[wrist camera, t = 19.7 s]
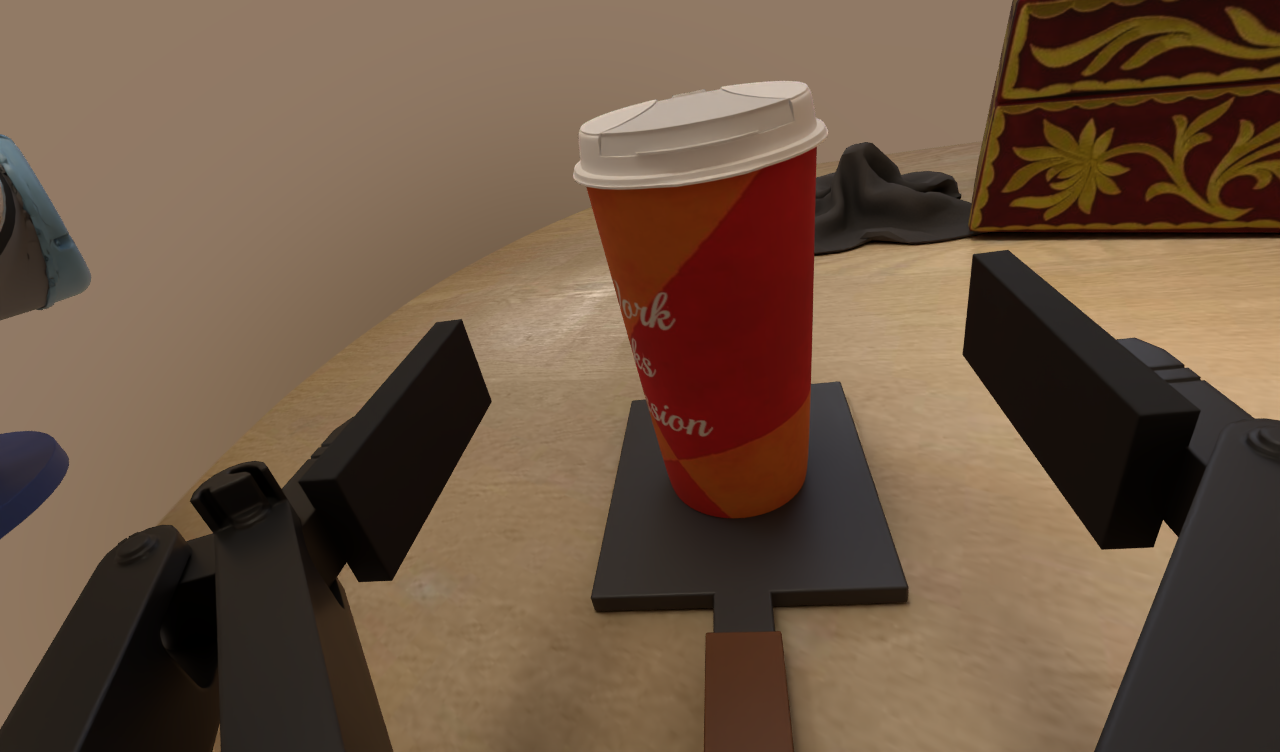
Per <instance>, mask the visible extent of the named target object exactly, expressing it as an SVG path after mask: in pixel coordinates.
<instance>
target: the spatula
mask: <svg viewBox="0 0 1280 752" xmlns="http://www.w3.org/2000/svg"><path fill="white" fill-rule="evenodd" d="M591 599H592V603H593V606H594V609H595V610H596V611H618V610H653V609H689V608H714V633H706V648H705V715H704V752H794V747H793V737H792V728H791V718H790V709H789V699H788V690H787V680H786V671H785V661H784V652H783V642H782V633H781V632H780V631H775V625H774V615H773V606H795V605H830V604H866V603H901V602H907V600H908V585H907V582H906V579H905V576H904V573H903V569H902V566H901V563H900V560H899V557H898V554H897V551H896V548H895V545H894V542H893V539H892V536H891V533H890V530H889V527H888V524H887V521H886V518H885V515H884V512H883V509H882V506H881V503H880V500H879V497H878V494H877V491H876V488H875V485H874V482H873V479H872V476H871V473H870V470H869V467H868V464H867V461H866V458H865V455H864V452H863V449H862V446H861V443H860V440H859V437H858V434H857V431H856V427H855V424H854V421H853V418H852V415H851V412H850V409H849V406H848V403H847V400H846V397H845V394H844V391H843V388H842V385H841V383H840V382H829V383H818V384H811V395H810V426H809V448H808V463H807V472H806V477H805V481H804V483H803V485H802V487H801V489H800V490H799V492H798V493H797V494H796V495H795V496H794V497H793V498H792V499H791V500H790V501H788V502H787V503H786V504H784V505H782V506H781V507H779V508H777V509H775V510H773V511H770V512H768V513H765V514H761V515H757V516H753V517H746V518H721V517H715V516H711V515H707V514H704V513H701V512H699V511H697V510H695V509H693V508H691V507H689V506H688V505H687V504H685V503H684V502H683V501H682V500H681V499H680V498H679V497H678V495H677V494H676V492H675V491H674V489H673V486H672V484H671V481H670V479H669V476H668V473H667V470H666V466H665V463H664V460H663V457H662V453H661V450H660V447H659V443H658V440H657V436H656V433H655V429H654V426H653V422H652V419H651V415H650V412H649V409H648V405H647V401H646V400H635V401H632V404H631V408H630V413H629V418H628V423H627V428H626V432H625V437H624V442H623V447H622V451H621V456H620V461H619V466H618V471H617V475H616V480H615V485H614V490H613V495H612V499H611V504H610V509H609V514H608V518H607V523H606V528H605V533H604V538H603V542H602V547H601V552H600V557H599V562H598V566H597V571H596V576H595V581H594V585H593V590H592V595H591Z"/></svg>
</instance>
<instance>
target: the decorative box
mask: <svg viewBox="0 0 1280 752" xmlns="http://www.w3.org/2000/svg"><path fill="white" fill-rule="evenodd" d="M968 225H969V230H970V231H979V232H1280V0H1013V2H1012V6H1011V11H1010V16H1009V20H1008V25H1007V30H1006V34H1005V39H1004V44H1003V49H1002V53H1001V58H1000V64H999V69H998V72H997V77H996V81H995V86H994V90H993V95H992V100H991V104H990V109H989V114H988V119H987V123H986V128H985V133H984V137H983V142H982V146H981V151H980V156H979V161H978V166H977V172H976V178H975V185H974V191H973V197H972V204H971V210H970V216H969V224H968Z"/></svg>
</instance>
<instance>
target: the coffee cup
mask: <svg viewBox="0 0 1280 752" xmlns="http://www.w3.org/2000/svg"><path fill="white" fill-rule="evenodd" d="M827 136H828V130H827V128H826V126H825V124H824V122H823V121H822V120H820V119H818V118H816V115H815V109H814V103H813V98H812V93H811V90H810V89H809V88H808V86H807V84H805V83H802V82H796V81H770V82H757V83H747V84H738V85H731V86H724V87H721V89H719V90H714V91H708V92H705V90H700V91H694V92H689V93H684V94H678V95H674V96H672V99H667V100H662V101H658V102H657V99H656V100H652V101H647V102H644V103H640V104H636V105H632V106H629V107H625V108H622V109H619V110H616V111H612V112H609V113H606V114H604V115H601V116H598V117H596V118H594V119H592V120H589V121H588V122H586V123H584V124H583V125H582V126H581V128H580V131H579V136H578V139H579V151H580V161H579V162H578V163H577V164H576V165H575V168H574V173H573V178H574V180H575V181H576V182H577V183H579V184H580V185H583V186H586V187H587V191H588V194H589V198H590V201H591V205H592V209H593V212H594V216H595V219H596V223H597V226H598V230H599V234H600V237H601V241H602V244H603V248H604V251H605V255H606V259H607V262H608V266H609V269H610V273H611V277H612V280H613V284H614V287H615V291H616V295H617V298H618V302H619V305H620V309H621V312H622V316H623V320H624V323H625V327H626V330H627V334H628V338H629V341H630V345H631V348H632V352H633V355H634V359H635V363H636V366H637V370H638V373H639V377H640V380H641V384H642V387H643V391H644V394H645V398H646V401H647V405H648V409H649V412H650V415H651V419H652V422H653V426H654V429H655V433H656V436H657V440H658V443H659V447H660V450H661V453H662V457H663V460H664V463H665V466H666V470H667V473H668V476H669V479H670V481H671V484H672V486H673V489H674V491H675V492H676V494H677V495H678V497H679V498H680V499H681V500H682V501H683V502H684V503H685V504H687V505H688V506H689V507H691V508H693V509H695V510H697V511H699V512H701V513H704V514H707V515H711V516H715V517H721V518H746V517H753V516H757V515H761V514H765V513H768V512H770V511H773V510H775V509H777V508H779V507H781V506H782V505H784V504H786V503H787V502H788V501H790V500H791V499H792V498H793V497H794V496H795V495H796V494H797V493H798V492H799V490H800V489H801V487H802V485H803V483H804V481H805V477H806V472H807V463H808V448H809V426H810V395H811V360H812V322H813V279H814V236H815V195H816V154H817V146H818V145H819V144H821V143H822V142H823V141H824V140H825V139H826V138H827Z"/></svg>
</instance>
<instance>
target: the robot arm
mask: <svg viewBox="0 0 1280 752" xmlns="http://www.w3.org/2000/svg"><path fill="white" fill-rule="evenodd" d="M90 282H91V274H90V271H89V269H88V267H87V265H86V263H85V261H84V259H83V257H82V255H81V253H80V252H79V250H78V248H77V246H76V245H75V243H74V241H73V240H72V238H71V236H70V235H69V233H68V231H67V229H66V227H65V226H64V224H63V221H62V219H61V218H60V216H59V214H58V212H57V211H56V209H55V207H54V206H53V204H52V202H51V201H50V199H49V197H48V195H47V194H46V192H45V190H44V189H43V187H42V185H41V184H40V182H39V180H38V178H37V177H36V175H35V173H34V172H33V170H32V169H31V167H30V165H29V164H28V162H27V160H26V159H25V158H24V156H23V154H22V152H21V151H20V149H19V148H18V147H17V146H16V145H15V143H14V142H13V141H12V140H11V139H10V138H8V137H7V136H5V135H1V134H0V320H3V319H6V318H9V317H13V316H15V315H19V314H22V313H25V312H29V311H32V310H35V309H36V310H43V309H47V308H49V307H51V306H52V305H54V303H55V302H58V301H61V300H64V299H66V298H69V297H72V296H75V295H78V294H80V293H82V292H83V291H84V290H86V289H87V288H88V286H89V284H90ZM963 356H964V357H965V359H966V360H967V361H968V363H969V364H970V366H971V367H972V368H973V370H974V371H975V373H976V374H977V375H978V377H979V378H980V380H981V381H982V382H983V384H984V385H985V387H986V388H987V390H988V391H989V392H990V394H991V395H992V397H993V398H994V399H995V401H996V402H997V404H998V405H999V406H1000V408H1001V409H1002V411H1003V412H1004V413H1005V415H1006V416H1007V418H1008V419H1009V420H1010V422H1011V423H1012V425H1013V426H1014V427H1015V429H1016V430H1017V432H1018V433H1019V434H1020V436H1021V437H1022V439H1023V440H1024V441H1025V443H1026V444H1027V446H1028V447H1029V448H1030V450H1031V451H1032V453H1033V454H1034V455H1035V457H1036V458H1037V460H1038V461H1039V462H1040V464H1041V465H1042V467H1043V468H1044V469H1045V471H1046V472H1047V474H1048V475H1049V476H1050V478H1051V479H1052V481H1053V482H1054V483H1055V485H1056V486H1057V488H1058V489H1059V490H1060V492H1061V493H1062V495H1063V496H1064V497H1065V499H1066V500H1067V502H1068V503H1069V504H1070V506H1071V507H1072V509H1073V510H1074V511H1075V513H1076V514H1077V516H1078V517H1079V518H1080V520H1081V521H1082V523H1083V524H1084V525H1085V527H1086V528H1087V530H1088V531H1089V533H1090V534H1091V535H1092V537H1093V538H1094V540H1095V541H1096V542H1097V544H1098V545H1099V547H1100V548H1101V549H1102V550H1103V549H1126V548H1148V547H1154V544H1155V541H1156V538H1157V536H1158V533H1159V530H1160V527H1161V524H1162V521H1163V520H1164V521H1165V522H1166V524H1167V525H1168V526H1169V527H1170V528H1171V529H1172V530H1173V532H1174V533H1175V534H1176V535H1177V536H1178V537H1179V538H1178V540H1177V543H1176V545H1175V548H1174V550H1173V553H1172V555H1171V558H1170V560H1169V563H1168V566H1167V568H1166V571H1165V573H1164V576H1163V578H1162V581H1161V583H1160V586H1159V588H1158V591H1157V593H1156V596H1155V599H1154V601H1153V604H1152V606H1151V609H1150V611H1149V614H1148V616H1147V619H1146V621H1145V624H1144V626H1143V629H1142V632H1141V634H1140V637H1139V639H1138V642H1137V644H1136V647H1135V649H1134V652H1133V654H1132V657H1131V659H1130V662H1129V665H1128V667H1127V670H1126V672H1125V675H1124V677H1123V680H1122V682H1121V685H1120V687H1119V690H1118V693H1117V695H1116V698H1115V700H1114V703H1113V705H1112V708H1111V710H1110V713H1109V715H1108V718H1107V720H1106V723H1105V726H1104V728H1103V731H1102V733H1101V736H1100V738H1099V741H1098V743H1097V746H1096V748H1095V751H1094V752H1280V421H1279V420H1272V419H1255V418H1253V417H1252V416H1251V415H1249V414H1248V413H1247V412H1245V411H1244V410H1243V409H1241V408H1240V407H1239V406H1238V405H1236V404H1235V403H1234V402H1232V401H1231V400H1230V399H1228V398H1227V397H1226V396H1224V395H1223V394H1222V393H1221V392H1219V391H1218V390H1217V389H1215V388H1214V387H1213V386H1211V385H1210V384H1209V383H1207V382H1206V381H1205V380H1203V381H1201V379H1200V376H1198V375H1197V374H1196V373H1194V372H1193V371H1192V370H1190V369H1189V368H1184V364H1183V363H1181V362H1180V361H1179V360H1177V359H1176V358H1175V357H1173V356H1172V355H1171V354H1170V353H1168V352H1167V351H1166V350H1164V349H1162V348H1159V347H1157V346H1154V345H1152V344H1149V343H1147V342H1144V341H1142V340H1140V339H1137V338H1127V339H1117V340H1116V339H1114V338H1113V337H1112V336H1111V335H1110V334H1108V333H1107V332H1106V331H1105V330H1104V329H1102V328H1101V327H1100V326H1099V325H1098V324H1096V323H1095V322H1094V321H1093V320H1092V319H1090V318H1089V317H1088V316H1087V315H1086V314H1084V313H1083V312H1082V311H1081V310H1080V309H1078V308H1077V307H1076V306H1075V305H1074V304H1072V303H1071V302H1070V301H1069V300H1068V299H1066V298H1065V297H1064V296H1063V295H1062V294H1060V293H1059V292H1058V291H1057V290H1056V289H1054V288H1053V287H1052V286H1051V285H1050V284H1048V283H1047V282H1046V281H1045V280H1044V279H1042V278H1041V277H1040V276H1039V275H1038V274H1036V273H1035V272H1034V271H1033V270H1032V269H1030V268H1029V267H1028V266H1027V265H1025V264H1024V263H1023V262H1022V261H1021V260H1019V259H1018V258H1017V257H1016V256H1015V255H1013V254H1012V253H1011V252H1010V251H1009V250H1004V251H996V252H988V253H980V254H973V258H972V268H971V278H970V288H969V298H968V308H967V318H966V327H965V337H964V347H963ZM491 402H492V401H491V398H490V395H489V393H488V390H487V387H486V384H485V382H484V379H483V376H482V373H481V371H480V368H479V365H478V362H477V360H476V357H475V354H474V351H473V349H472V346H471V343H470V341H469V338H468V335H467V332H466V330H465V327H464V324H463V321H462V319H459V320H451V321H444V322H436V323H435V325H434V326H433V327H432V328H431V329H430V330H429V331H428V333H427V334H426V335H425V336H424V337H423V338H422V339H421V341H420V342H419V343H418V344H417V345H416V346H415V348H414V349H413V350H412V351H411V352H410V353H409V354H408V356H407V357H406V358H405V359H404V360H403V361H402V362H401V364H400V365H399V366H398V367H397V368H396V369H395V370H394V372H393V373H392V374H391V375H390V376H389V377H388V379H387V380H386V381H385V382H384V383H383V384H382V385H381V387H380V388H379V389H378V390H377V391H376V392H375V393H374V395H373V396H372V397H371V398H370V399H369V400H368V402H367V403H366V404H365V405H364V406H363V407H362V408H361V410H360V411H359V412H358V413H357V414H356V415H355V416H354V417H352V418H351V419H349V420H348V421H346V422H345V423H344V424H342V425H341V426H339V427H338V428H337V429H335V430H334V431H333V432H332V433H331V434H330V435H329V436H328V438H327V439H326V440H325V441H324V442H323V443H322V444H321V447H320V448H318V449H317V450H316V451H315V452H314V453H313V454H312V456H311V459H308V460H307V461H306V462H305V463H304V465H303V466H302V467H301V468H300V469H299V470H298V471H297V472H296V474H295V475H294V476H293V477H292V478H291V479H290V480H289V481H288V483H287V484H286V485H285V486H284V487H283V488H282V489H281V488H280V486H279V485H278V483H277V481H276V480H275V478H274V477H273V475H272V473H271V472H270V470H269V469H268V467H267V466H266V465H265V463H264V462H258V461H251V462H245V463H241V464H238V465H235V466H232V467H229V468H227V469H225V470H223V471H221V472H219V473H218V474H216V475H214V476H212V477H211V478H210V479H208V480H207V481H205V482H204V483H203V484H201V486H200V487H199V488H198V489H197V490H196V491H195V492H194V493H193V495H192V498H191V500H190V502H191V503H192V505H193V506H194V508H195V509H196V510H197V512H198V513H199V514H200V516H201V517H202V518H203V520H204V521H205V522H206V524H207V525H208V526H209V528H210V529H211V531H212V532H213V534H210V535H206V536H203V537H200V538H196V539H193V540H189V541H185V539H184V538H183V537H182V535H181V534H180V533H179V532H178V530H177V529H176V528H175V527H173V526H172V525H160V526H156V527H152V528H148V529H146V530H144V531H141V532H137V533H135V534H133V535H131V536H129V538H128V539H127V538H126V539H124V540H123V541H121V542H120V543H118V545H117V546H116V547H115V548H113V549H112V550H111V551H110V552H109V553H107V554H106V556H105V557H104V558H103V559H102V560H101V562H100V563H99V565H98V566H97V568H96V570H95V571H94V573H93V574H92V576H91V578H90V579H89V581H88V583H87V585H86V586H85V588H84V590H83V591H82V593H81V594H80V596H79V598H78V600H77V601H76V603H75V605H74V606H73V608H72V610H71V611H70V613H69V615H68V616H67V618H66V620H65V621H64V623H63V625H62V626H61V628H60V630H59V632H58V633H57V635H56V637H55V638H54V640H53V642H52V643H51V645H50V647H49V648H48V650H47V652H46V653H45V655H44V657H43V659H42V660H41V662H40V663H39V665H38V667H37V668H36V670H35V672H34V673H33V675H32V677H31V679H30V680H29V682H28V684H27V685H26V687H25V689H24V691H23V692H22V694H21V695H20V697H19V699H18V700H17V702H16V704H15V706H14V707H13V709H12V711H11V712H10V714H9V716H8V717H7V719H6V721H5V722H4V724H3V726H2V727H1V729H0V752H212V750H213V746H214V743H215V739H216V735H217V731H218V727H219V724H220V738H221V752H393V749H392V746H391V742H390V739H389V736H388V733H387V729H386V726H385V723H384V719H383V716H382V713H381V709H380V706H379V703H378V699H377V696H376V693H375V689H374V686H373V683H372V679H371V676H370V673H369V669H368V666H367V663H366V659H365V656H364V653H363V650H362V646H361V643H360V640H359V636H358V633H357V630H356V626H355V623H354V620H353V616H352V613H351V610H350V606H349V603H348V600H347V596H346V593H345V590H344V588H343V586H342V585H341V583H340V581H339V580H338V578H337V576H338V575H339V573H340V572H341V570H342V568H343V567H344V565H345V564H346V562H347V563H348V565H349V567H350V568H351V570H352V572H353V573H354V575H355V577H356V578H357V580H358V582H371V581H392V580H393V578H394V576H395V574H396V573H397V571H398V569H399V567H400V565H401V564H402V562H403V560H404V558H405V556H406V555H407V553H408V551H409V549H410V547H411V546H412V544H413V542H414V540H415V538H416V537H417V535H418V533H419V531H420V529H421V528H422V526H423V524H424V522H425V520H426V519H427V517H428V515H429V513H430V512H431V510H432V508H433V506H434V504H435V503H436V501H437V499H438V497H439V495H440V494H441V492H442V490H443V488H444V486H445V485H446V483H447V481H448V479H449V477H450V476H451V474H452V472H453V470H454V468H455V467H456V465H457V463H458V461H459V459H460V458H461V456H462V454H463V452H464V450H465V449H466V447H467V445H468V443H469V442H470V440H471V438H472V436H473V434H474V433H475V431H476V429H477V427H478V425H479V424H480V422H481V420H482V418H483V416H484V415H485V413H486V411H487V409H488V407H489V406H490V404H491Z"/></svg>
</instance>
